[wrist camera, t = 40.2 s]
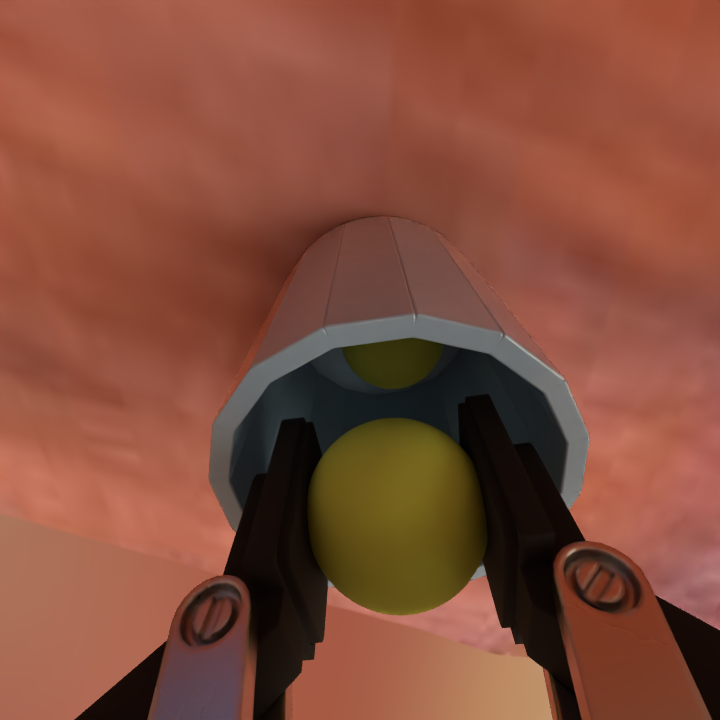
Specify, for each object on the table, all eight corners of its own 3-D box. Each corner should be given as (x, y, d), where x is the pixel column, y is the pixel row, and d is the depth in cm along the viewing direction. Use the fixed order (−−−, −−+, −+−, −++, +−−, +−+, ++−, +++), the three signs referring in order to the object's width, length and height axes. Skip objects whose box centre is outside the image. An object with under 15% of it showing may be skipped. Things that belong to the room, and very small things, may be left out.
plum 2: (299, 395, 10) (264, 538, 6) (464, 373, 10) (521, 512, 6) (330, 506, 12) (317, 662, 8) (468, 492, 11) (513, 648, 8)
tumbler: (261, 234, 16) (145, 351, 8) (475, 198, 16) (616, 285, 7) (308, 404, 21) (267, 605, 12) (478, 382, 20) (568, 579, 11)
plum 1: (327, 288, 17) (336, 312, 13) (421, 268, 17) (455, 287, 13) (346, 374, 18) (358, 417, 14) (431, 355, 18) (464, 393, 15)
